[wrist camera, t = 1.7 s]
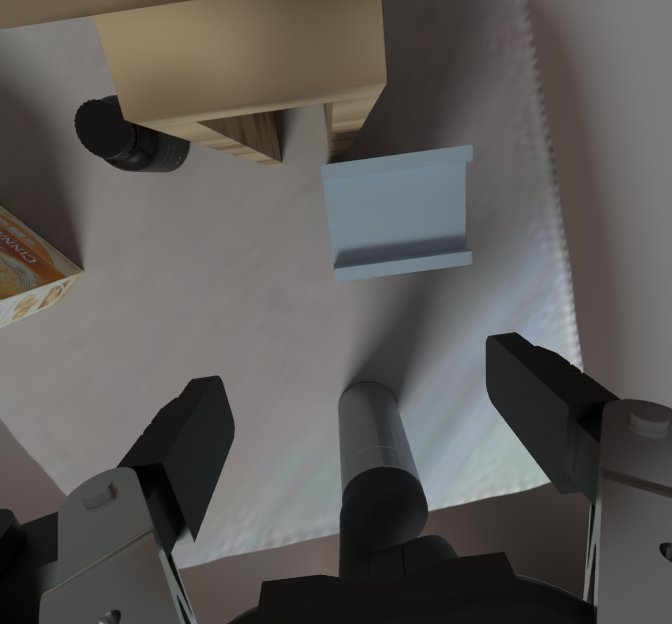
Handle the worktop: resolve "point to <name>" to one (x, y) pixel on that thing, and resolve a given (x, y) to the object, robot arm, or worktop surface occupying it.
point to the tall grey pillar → (398, 213)
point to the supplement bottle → (126, 139)
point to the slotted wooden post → (246, 68)
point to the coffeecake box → (29, 271)
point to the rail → (65, 9)
